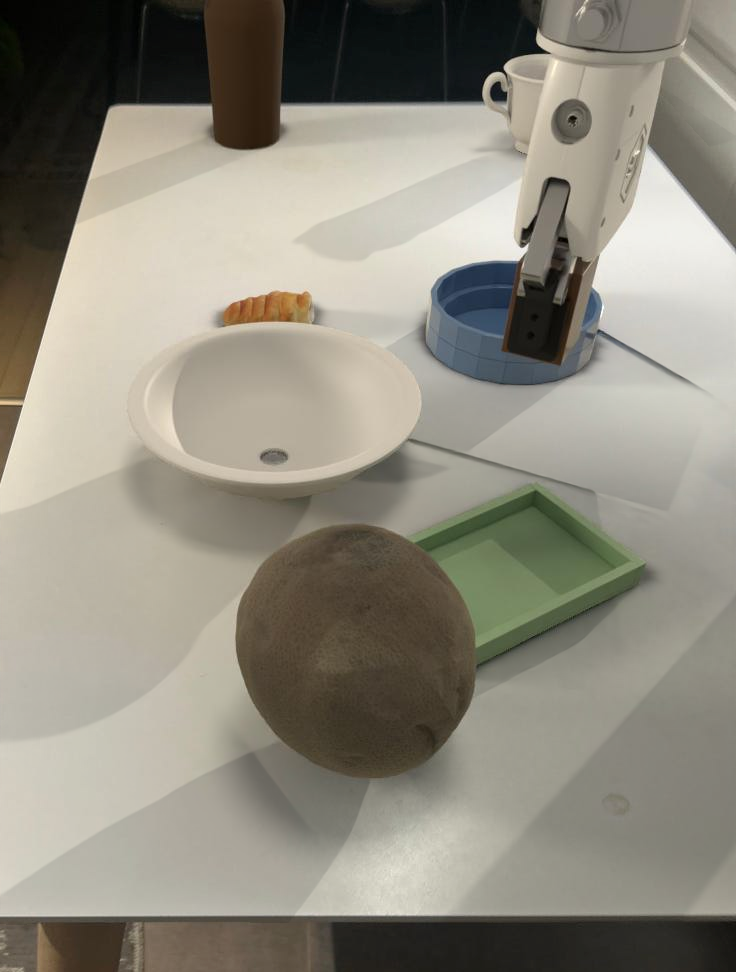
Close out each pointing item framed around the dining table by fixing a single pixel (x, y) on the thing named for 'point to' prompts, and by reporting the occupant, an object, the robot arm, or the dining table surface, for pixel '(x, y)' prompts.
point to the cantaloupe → (357, 650)
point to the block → (576, 294)
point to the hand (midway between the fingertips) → (543, 335)
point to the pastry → (271, 309)
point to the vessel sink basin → (274, 407)
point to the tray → (527, 565)
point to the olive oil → (245, 70)
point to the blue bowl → (493, 327)
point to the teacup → (519, 95)
